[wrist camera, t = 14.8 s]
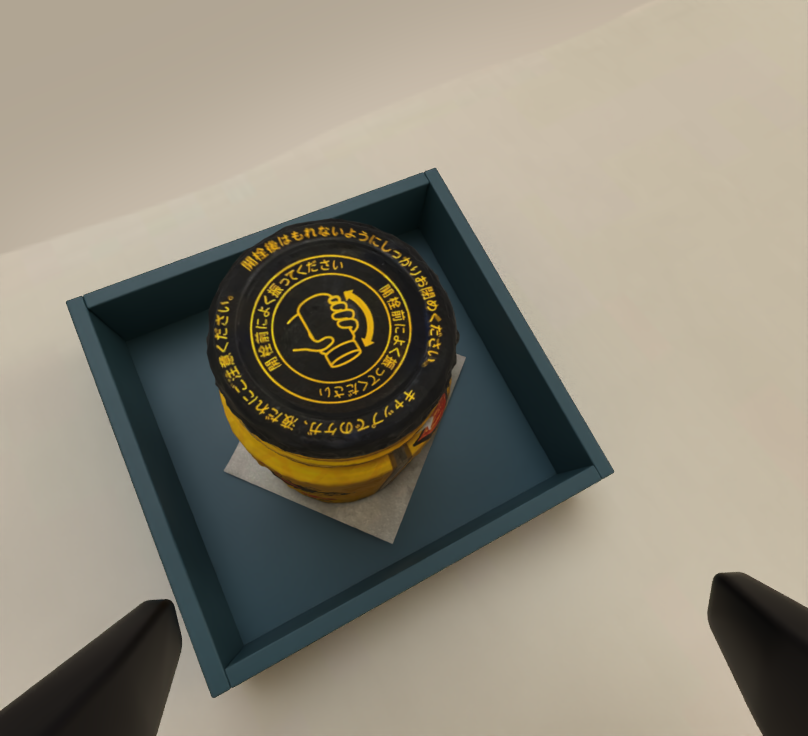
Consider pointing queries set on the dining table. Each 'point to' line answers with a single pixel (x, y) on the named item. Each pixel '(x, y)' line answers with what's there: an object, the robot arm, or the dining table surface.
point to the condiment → (334, 368)
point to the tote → (292, 522)
